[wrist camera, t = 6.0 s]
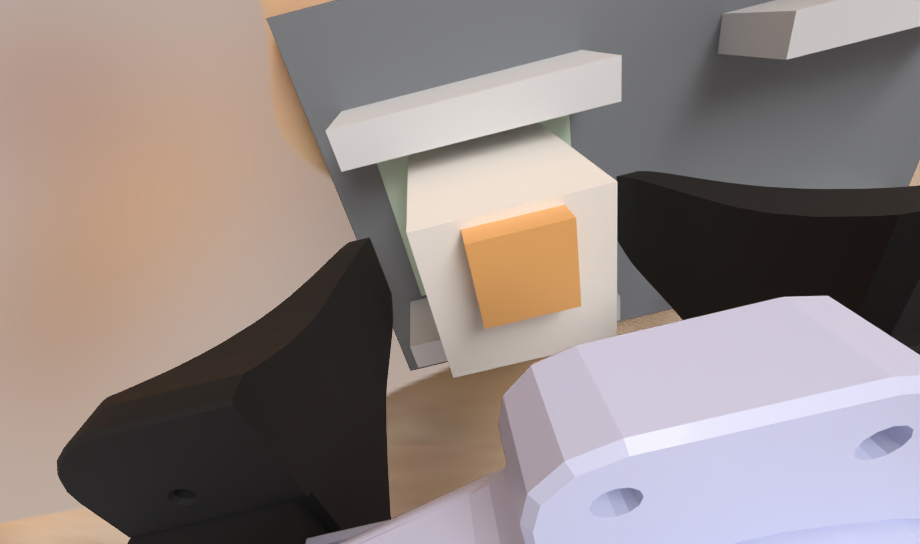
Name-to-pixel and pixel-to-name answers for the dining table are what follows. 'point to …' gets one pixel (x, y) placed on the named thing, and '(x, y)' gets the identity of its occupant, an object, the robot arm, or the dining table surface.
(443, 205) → the plug
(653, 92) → the panel
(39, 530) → the dining table surface
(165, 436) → the robot arm
